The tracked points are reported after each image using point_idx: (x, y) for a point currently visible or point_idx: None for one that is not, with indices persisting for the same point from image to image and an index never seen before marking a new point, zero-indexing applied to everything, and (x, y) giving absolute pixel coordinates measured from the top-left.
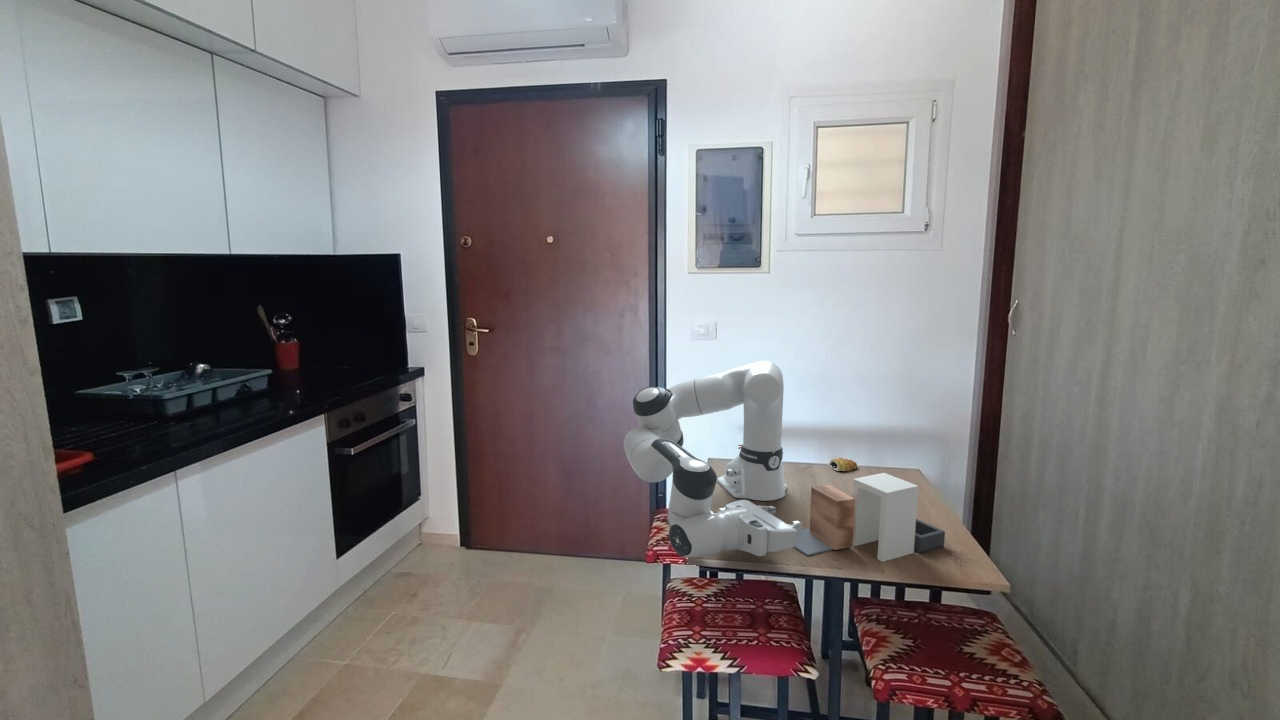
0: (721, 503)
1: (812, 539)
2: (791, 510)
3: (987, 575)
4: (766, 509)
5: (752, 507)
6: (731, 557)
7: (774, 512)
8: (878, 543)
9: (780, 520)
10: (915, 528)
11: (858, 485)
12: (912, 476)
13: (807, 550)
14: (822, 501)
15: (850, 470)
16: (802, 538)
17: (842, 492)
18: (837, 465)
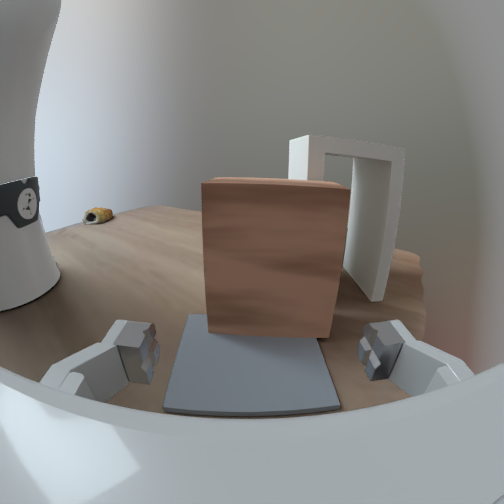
0: None
1: (249, 348)
2: (95, 296)
3: (409, 253)
4: (110, 363)
5: (40, 449)
6: None
7: (154, 351)
8: (378, 269)
9: (443, 396)
10: None
11: (326, 148)
12: (168, 207)
13: (314, 394)
14: (269, 214)
15: (109, 218)
16: (229, 364)
17: (284, 179)
18: (96, 215)
